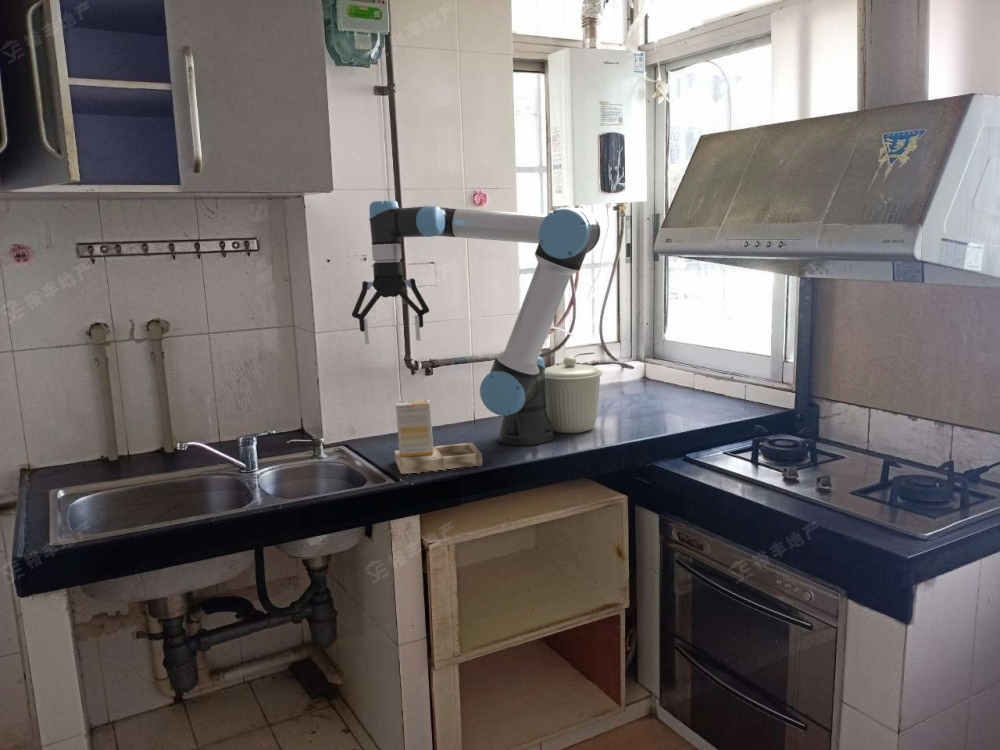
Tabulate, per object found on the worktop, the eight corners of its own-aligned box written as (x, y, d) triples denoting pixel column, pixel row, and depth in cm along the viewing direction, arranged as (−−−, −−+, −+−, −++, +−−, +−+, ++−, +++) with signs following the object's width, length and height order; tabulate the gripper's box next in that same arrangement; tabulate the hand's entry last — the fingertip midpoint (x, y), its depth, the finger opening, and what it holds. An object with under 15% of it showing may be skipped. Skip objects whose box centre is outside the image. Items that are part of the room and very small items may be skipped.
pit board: (472, 453, 207) (471, 441, 206) (482, 466, 195) (481, 453, 195) (395, 462, 202) (394, 449, 202) (400, 475, 191) (400, 462, 190)
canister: (528, 428, 231) (525, 356, 228) (581, 419, 239) (579, 349, 236) (561, 440, 215) (559, 363, 212) (616, 430, 224) (615, 356, 220)
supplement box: (433, 450, 199) (430, 399, 197) (432, 455, 195) (429, 403, 192) (400, 452, 199) (397, 400, 197) (399, 457, 194) (395, 404, 192)
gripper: (432, 258, 215) (436, 336, 219) (338, 263, 209) (344, 343, 213) (436, 259, 208) (441, 340, 211) (339, 264, 202) (346, 347, 206)
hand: (392, 342), depth 212 cm, fingers open, 13 cm apart
